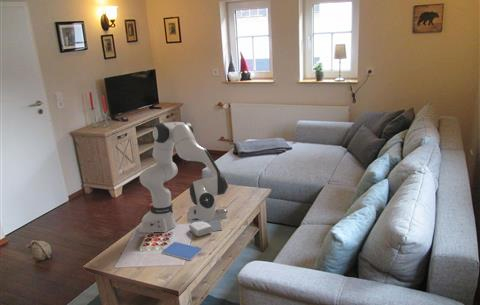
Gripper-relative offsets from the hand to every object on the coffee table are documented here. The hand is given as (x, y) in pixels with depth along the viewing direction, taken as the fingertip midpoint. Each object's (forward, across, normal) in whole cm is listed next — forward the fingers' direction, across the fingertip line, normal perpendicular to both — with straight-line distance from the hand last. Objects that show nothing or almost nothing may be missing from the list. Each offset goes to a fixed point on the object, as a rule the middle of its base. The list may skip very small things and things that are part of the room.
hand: (206, 220), depth 207 cm
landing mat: (+32, 0, -7) cm, 33 cm away
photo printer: (+23, +1, -1) cm, 23 cm away
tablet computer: (+15, +14, +11) cm, 23 cm away
